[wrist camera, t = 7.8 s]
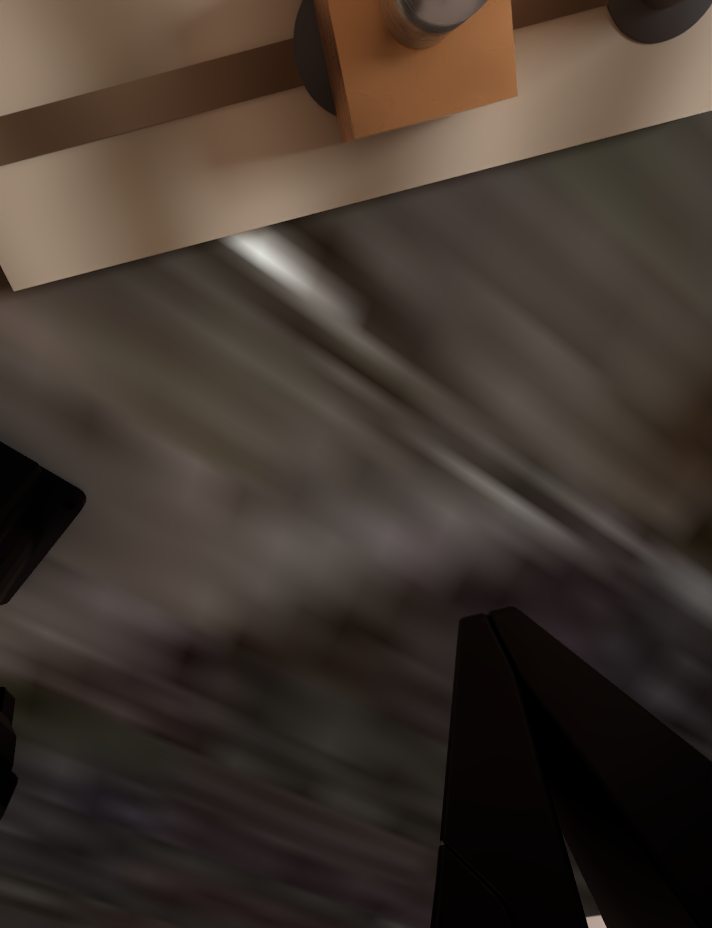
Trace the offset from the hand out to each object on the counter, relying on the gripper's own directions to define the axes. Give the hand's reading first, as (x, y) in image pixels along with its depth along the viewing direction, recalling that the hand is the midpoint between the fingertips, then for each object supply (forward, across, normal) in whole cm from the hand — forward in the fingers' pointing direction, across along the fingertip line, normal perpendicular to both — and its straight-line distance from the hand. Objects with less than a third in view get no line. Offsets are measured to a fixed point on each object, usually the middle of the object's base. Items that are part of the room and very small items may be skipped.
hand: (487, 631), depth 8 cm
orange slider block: (+11, -2, -9) cm, 14 cm away
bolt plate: (+13, -1, -9) cm, 16 cm away
